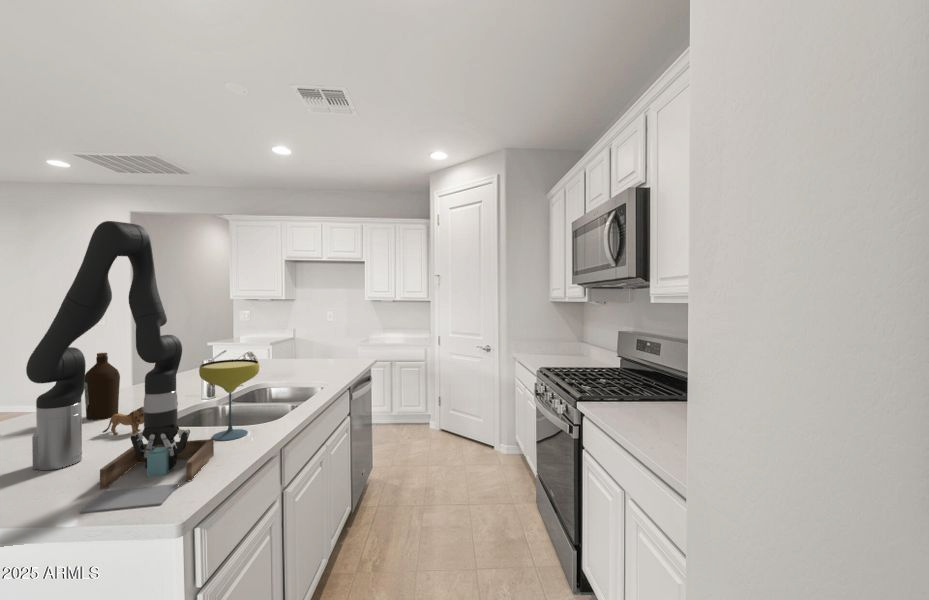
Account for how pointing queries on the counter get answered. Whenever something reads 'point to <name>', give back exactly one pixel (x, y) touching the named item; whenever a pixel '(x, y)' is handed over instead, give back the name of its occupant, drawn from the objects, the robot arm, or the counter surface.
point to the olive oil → (101, 389)
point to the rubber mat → (130, 498)
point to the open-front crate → (194, 449)
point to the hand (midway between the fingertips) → (161, 468)
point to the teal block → (158, 462)
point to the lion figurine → (127, 420)
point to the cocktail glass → (229, 385)
